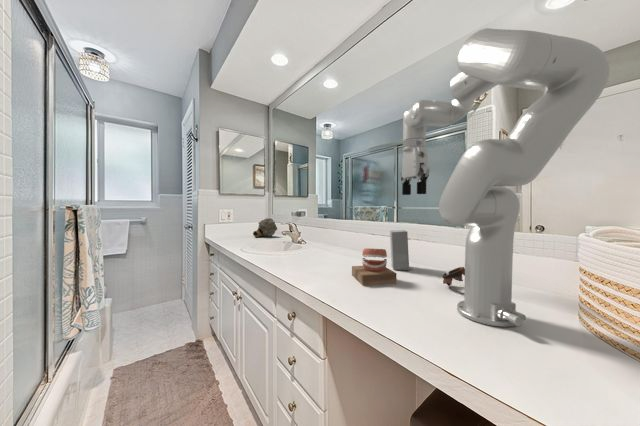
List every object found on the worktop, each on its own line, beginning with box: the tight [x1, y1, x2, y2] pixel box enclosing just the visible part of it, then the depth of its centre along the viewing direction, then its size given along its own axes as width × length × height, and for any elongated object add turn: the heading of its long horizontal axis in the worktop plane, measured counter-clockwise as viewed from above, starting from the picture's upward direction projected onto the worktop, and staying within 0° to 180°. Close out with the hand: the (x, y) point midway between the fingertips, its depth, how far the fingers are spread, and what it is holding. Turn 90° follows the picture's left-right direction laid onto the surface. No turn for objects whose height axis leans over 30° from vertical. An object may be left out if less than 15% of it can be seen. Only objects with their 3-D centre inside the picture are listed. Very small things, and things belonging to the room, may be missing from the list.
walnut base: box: [351, 265, 397, 287], centre depth 89 cm, size 12×12×4 cm
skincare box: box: [389, 229, 410, 271], centre depth 104 cm, size 8×7×16 cm
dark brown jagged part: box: [441, 266, 465, 287], centre depth 79 cm, size 12×10×8 cm
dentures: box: [361, 247, 388, 272], centre depth 89 cm, size 9×7×8 cm
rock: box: [252, 217, 278, 239], centre depth 200 cm, size 18×14×15 cm
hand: (413, 194), depth 89 cm, fingers open, 9 cm apart
